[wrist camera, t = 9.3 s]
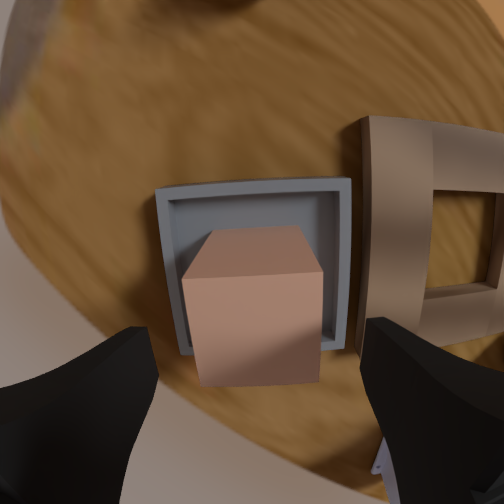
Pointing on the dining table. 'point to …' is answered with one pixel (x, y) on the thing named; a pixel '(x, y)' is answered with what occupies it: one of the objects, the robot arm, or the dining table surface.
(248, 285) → the block
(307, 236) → the tray
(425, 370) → the robot arm
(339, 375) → the dining table surface
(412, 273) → the board
